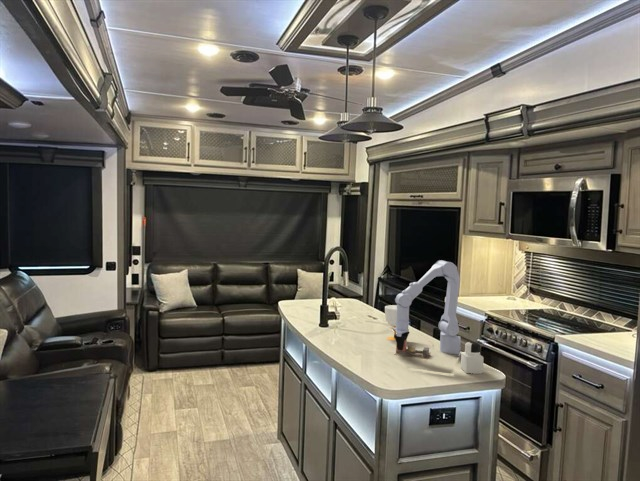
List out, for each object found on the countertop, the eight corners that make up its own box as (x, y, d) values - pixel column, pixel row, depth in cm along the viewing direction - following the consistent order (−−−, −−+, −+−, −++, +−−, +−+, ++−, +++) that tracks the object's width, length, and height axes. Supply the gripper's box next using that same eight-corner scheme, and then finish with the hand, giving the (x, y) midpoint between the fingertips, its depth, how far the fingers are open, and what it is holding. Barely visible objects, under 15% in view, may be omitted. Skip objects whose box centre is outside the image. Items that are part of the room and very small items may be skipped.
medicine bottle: (476, 368, 202) (478, 340, 202) (483, 374, 195) (484, 345, 195) (460, 368, 202) (461, 340, 201) (466, 373, 195) (467, 345, 194)
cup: (406, 343, 239) (407, 310, 239) (382, 341, 242) (384, 308, 241) (406, 337, 251) (407, 305, 250) (384, 335, 253) (385, 304, 252)
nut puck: (415, 353, 219) (416, 346, 218) (414, 355, 215) (414, 348, 215) (408, 352, 220) (408, 345, 220) (406, 354, 216) (406, 347, 216)
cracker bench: (430, 355, 220) (431, 346, 220) (427, 361, 210) (427, 352, 209) (398, 351, 225) (399, 342, 225) (393, 357, 215) (394, 348, 215)
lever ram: (406, 351, 220) (406, 339, 220) (404, 353, 216) (405, 341, 216) (397, 350, 222) (398, 338, 222) (395, 352, 218) (396, 340, 217)
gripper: (396, 315, 226) (395, 343, 227) (390, 321, 213) (389, 351, 214) (411, 317, 224) (410, 345, 225) (406, 323, 210) (404, 353, 211)
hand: (401, 348), depth 219 cm, fingers open, 5 cm apart
